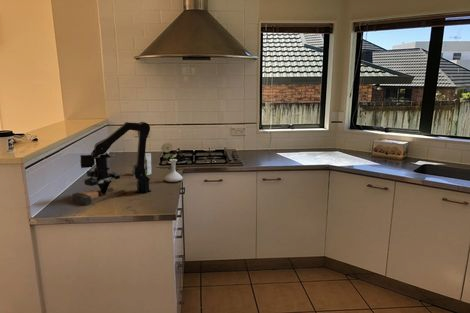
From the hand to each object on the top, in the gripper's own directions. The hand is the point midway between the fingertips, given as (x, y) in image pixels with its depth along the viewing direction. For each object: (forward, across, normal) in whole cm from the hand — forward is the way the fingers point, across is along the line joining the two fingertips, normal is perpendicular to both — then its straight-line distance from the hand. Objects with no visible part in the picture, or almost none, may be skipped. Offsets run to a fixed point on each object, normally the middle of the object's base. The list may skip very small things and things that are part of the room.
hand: (103, 194), depth 192 cm
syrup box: (+2, -46, -17) cm, 49 cm away
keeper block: (+1, +9, 0) cm, 9 cm away
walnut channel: (+1, +3, 0) cm, 3 cm away
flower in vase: (+2, -45, +9) cm, 46 cm away
